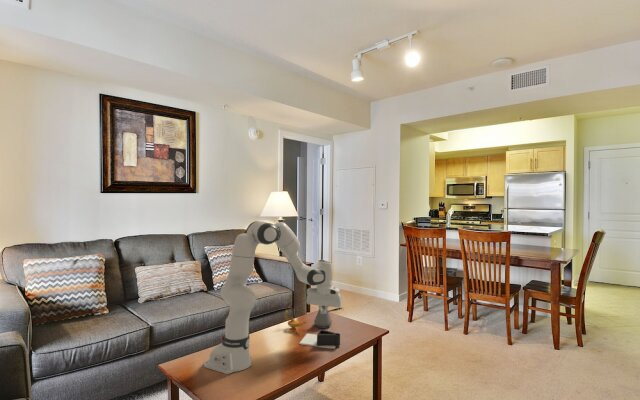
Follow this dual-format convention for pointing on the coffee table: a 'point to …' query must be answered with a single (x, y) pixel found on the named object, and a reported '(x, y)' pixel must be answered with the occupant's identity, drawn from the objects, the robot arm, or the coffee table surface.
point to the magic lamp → (293, 323)
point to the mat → (312, 341)
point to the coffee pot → (324, 318)
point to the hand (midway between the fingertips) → (323, 313)
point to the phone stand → (328, 338)
